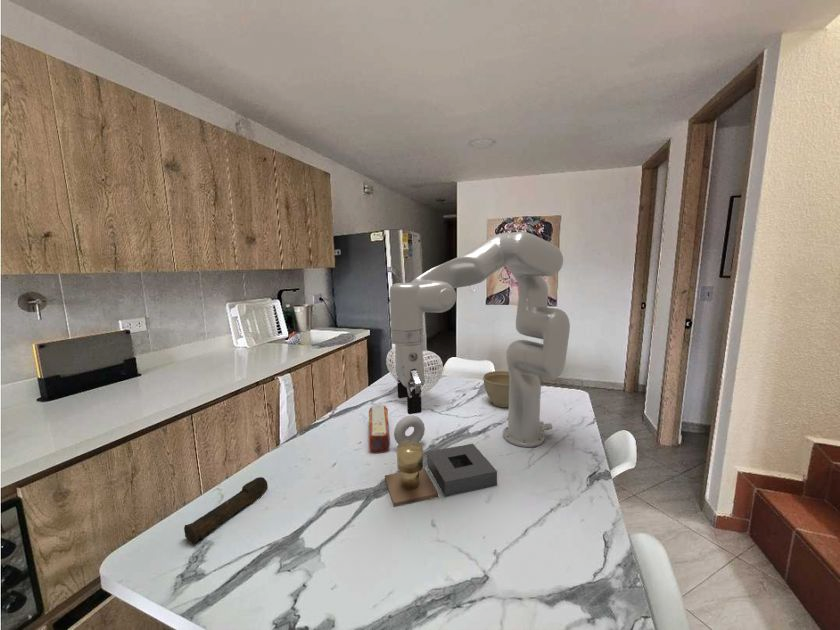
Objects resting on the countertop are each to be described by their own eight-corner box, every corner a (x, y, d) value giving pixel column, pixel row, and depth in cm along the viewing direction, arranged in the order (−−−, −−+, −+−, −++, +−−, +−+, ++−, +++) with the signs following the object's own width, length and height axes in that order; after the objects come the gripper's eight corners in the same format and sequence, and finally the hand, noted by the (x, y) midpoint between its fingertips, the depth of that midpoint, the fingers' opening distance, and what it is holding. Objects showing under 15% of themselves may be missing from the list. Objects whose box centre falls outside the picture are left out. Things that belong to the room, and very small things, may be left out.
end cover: (419, 474, 91) (418, 438, 89) (426, 489, 85) (426, 451, 83) (395, 479, 89) (394, 442, 87) (401, 494, 83) (400, 456, 81)
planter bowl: (503, 392, 149) (503, 368, 147) (533, 405, 135) (534, 378, 134) (474, 400, 140) (474, 375, 139) (503, 415, 127) (504, 387, 125)
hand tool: (194, 548, 70) (192, 527, 69) (183, 540, 72) (181, 520, 71) (274, 493, 86) (273, 476, 85) (264, 488, 88) (262, 472, 87)
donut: (397, 453, 103) (396, 421, 101) (392, 447, 106) (391, 417, 104) (426, 445, 107) (426, 414, 106) (422, 440, 110) (421, 410, 109)
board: (424, 471, 94) (424, 467, 94) (438, 497, 83) (438, 493, 83) (384, 478, 91) (384, 475, 91) (393, 506, 80) (393, 503, 80)
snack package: (390, 453, 103) (389, 431, 102) (368, 454, 103) (367, 433, 102) (387, 421, 124) (387, 403, 123) (369, 422, 124) (368, 404, 122)
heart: (451, 406, 135) (450, 351, 132) (418, 417, 126) (417, 358, 123) (410, 386, 158) (409, 339, 154) (380, 394, 149) (379, 344, 145)
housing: (472, 456, 101) (473, 443, 100) (496, 485, 87) (497, 471, 87) (427, 465, 97) (426, 451, 96) (444, 497, 83) (444, 481, 83)
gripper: (434, 342, 74) (435, 417, 77) (412, 327, 90) (414, 390, 93) (400, 345, 72) (402, 422, 75) (384, 330, 88) (386, 394, 91)
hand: (409, 404), depth 84 cm, fingers open, 9 cm apart
